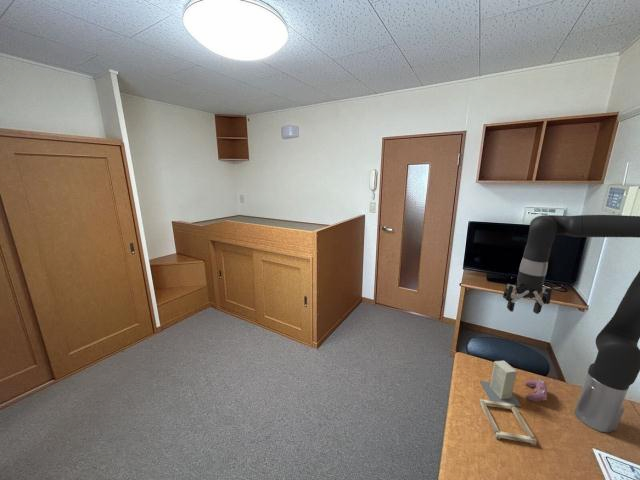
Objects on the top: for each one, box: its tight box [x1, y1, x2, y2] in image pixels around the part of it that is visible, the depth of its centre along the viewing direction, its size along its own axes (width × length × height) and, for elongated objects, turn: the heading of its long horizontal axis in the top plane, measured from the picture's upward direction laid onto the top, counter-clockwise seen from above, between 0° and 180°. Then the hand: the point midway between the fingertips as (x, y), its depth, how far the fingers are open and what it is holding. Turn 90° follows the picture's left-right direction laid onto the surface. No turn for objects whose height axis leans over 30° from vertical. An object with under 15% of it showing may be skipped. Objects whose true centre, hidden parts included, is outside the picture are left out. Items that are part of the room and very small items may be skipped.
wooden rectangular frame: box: [478, 398, 538, 446], centre depth 88 cm, size 11×13×2 cm
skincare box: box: [490, 360, 518, 399], centre depth 99 cm, size 6×4×12 cm
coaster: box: [479, 380, 522, 408], centre depth 100 cm, size 10×10×1 cm
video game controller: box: [525, 379, 548, 402], centre depth 99 cm, size 10×5×7 cm, turn 143°
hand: (522, 311), depth 97 cm, fingers open, 8 cm apart
